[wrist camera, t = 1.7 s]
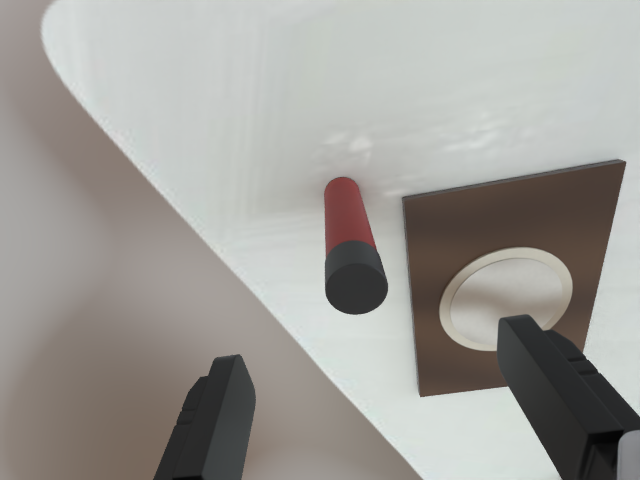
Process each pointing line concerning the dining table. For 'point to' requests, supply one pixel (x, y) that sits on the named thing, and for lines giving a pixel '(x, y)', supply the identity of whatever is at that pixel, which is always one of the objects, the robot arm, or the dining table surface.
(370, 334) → the dining table surface
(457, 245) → the brown flat rectangular board
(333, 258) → the marker
